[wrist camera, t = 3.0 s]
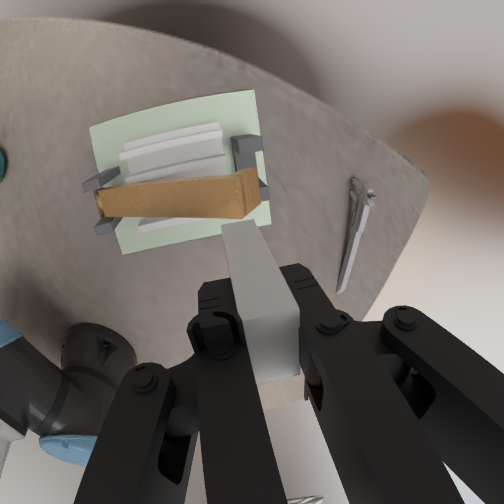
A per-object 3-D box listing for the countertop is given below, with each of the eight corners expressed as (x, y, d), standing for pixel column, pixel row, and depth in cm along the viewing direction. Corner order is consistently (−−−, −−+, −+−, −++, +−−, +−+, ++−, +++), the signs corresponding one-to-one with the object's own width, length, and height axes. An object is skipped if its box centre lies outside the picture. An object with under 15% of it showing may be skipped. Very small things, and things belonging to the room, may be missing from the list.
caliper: (348, 177, 39) (371, 187, 33) (355, 177, 39) (378, 187, 34) (335, 292, 48) (350, 313, 42) (340, 291, 48) (356, 312, 43)
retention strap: (121, 205, 30) (98, 217, 27) (115, 181, 29) (90, 192, 26) (261, 203, 22) (240, 220, 20) (256, 166, 21) (234, 178, 18)
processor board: (125, 250, 37) (108, 285, 29) (93, 127, 29) (61, 130, 21) (268, 220, 39) (288, 249, 31) (251, 91, 31) (269, 80, 23)
